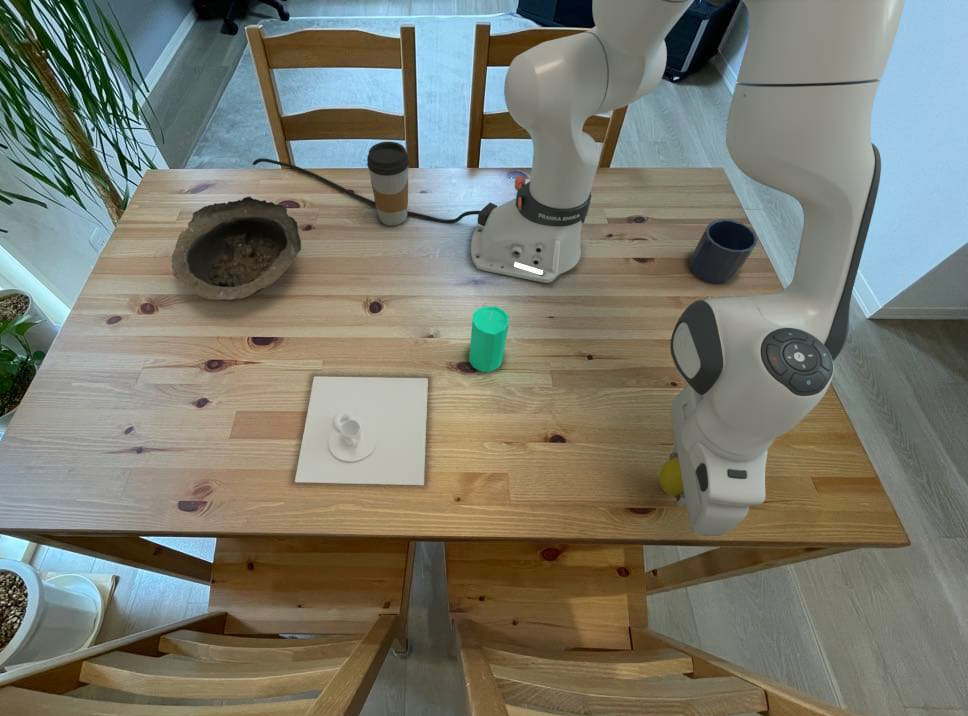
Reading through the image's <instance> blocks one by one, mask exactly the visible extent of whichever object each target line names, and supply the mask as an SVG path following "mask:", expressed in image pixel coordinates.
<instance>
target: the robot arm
mask: <svg viewBox="0 0 968 716" xmlns="http://www.w3.org/2000/svg"><path fill="white" fill-rule="evenodd" d="M694 1H695V0H592V5H591V7H592V8H591V9H592V11H591V12H592V18H593V22H594V25H595V26H593V27H592V28H590V29H588V30H586V31H583V32H580V33H576V34H572V35H567V36H563V37H559V38H554V39H550V40H547V41H543V42H540V43H539V44H537V45H535V46H533V47H531V48H529V49H527V50H526V51H524V52H522V53H520V54H518V55H517V56H515V57H514V58H513V59H512V61H511V63H510V65H509V66H508V69H507V71H506V74H505V79H504V86H503V96H504V102H505V106H506V109H507V111H508V112H509V115H510V117H511V118H512V119H513V121H514V122H515V123H516V124H518V126H520V128H521V127H522V128H523V129H524V130H526V131H527V133H528V135H529V137H530V138H531V140H532V146H533V148H532V149H533V154H532V163H531V171H530V179H529V181H528V182H527V183H526V178H525V177H524V176H522V175H520V176H517V177H516V178H514V179H515V180H514V189H515V190H516V195H515V198H513V199H511V200H509V201H507V202H505V203H503V204H501V205H497V204H494V203H492V202H488V204H486V205H485V206H484V207H483V208H482V209H481V210H469V211H465V212H462V213H461V214H460V215H459V216H457V217H455V218H453V219H452V218H451V219H443V218H437V217H433V216H430V215H427V214H423V213H419V212H414V211H409V210H407V216H412V217H416V218H420V219H425V220H429V221H432V222H436V223H442V224H456V223H458V222H460V221H461V220H462V219H463V218H464V217H467V216H471V215H477V224H478V225H477V227H476V228H475V229H474V232H473V234H472V238H471V243H470V256H471V260H472V262H473V265H474V266H475V268H477V269H478V270H480V271H483V272H488V273H489V272H490V273H493V274H499V275H504V276H509V277H512V278H513V277H514V278H518V279H524V280H529V281H533V282H539V283H542V284H543V283H544V284H550V283H552V282H553V281H554V280H556V278H557V277H558V276H560V275H562V274H564V273H566V272H568V271H570V270H572V269H573V268H574V267H576V265H577V264H578V263H579V261H580V259H581V256H582V249H581V237H582V232H583V231H582V230H583V224H584V223H585V220H586V218H587V216H588V213H589V210H590V207H591V202H592V188H593V184H594V181H595V177H596V174H597V170H598V167H599V164H600V161H601V160H600V157H601V155H600V154H601V153H600V150H599V147H598V144H597V143H596V141H595V139H594V138H593V137H592V136H591V135H590V134H588V133H587V132H585V131H583V127H584V125H585V123H586V122H587V120H588V118H590V117H593V116H596V115H600V114H605V113H609V112H613V111H615V110H619V109H622V108H625V107H627V106H629V105H632V104H633V103H635V102H637V101H639V100H641V99H642V98H644V97H646V96H648V95H649V94H651V93H652V92H653V91H655V89H656V88H658V85H659V84H660V82H661V81H662V79H663V75H664V73H665V70H666V66H667V58H668V57H667V56H668V54H667V53H668V52H667V46H666V40H665V39H666V37H667V36H668V34H670V32H671V30H672V29H673V28H674V27H675V26H676V24H677V23H678V21H679V20H680V19H681V18H682V17H683V15H684V14H685V12H687V10H688V9H689V7H690V6H691V5H692V4H693V3H694ZM705 1H706V2H707V3H710V4H712V5H713V6H721V5H723V4H725V3H726V2H727V1H728V0H705ZM741 2H742V3H743V4H744V5H745V7H746V9H747V12H748V16H749V29H748V34H747V35H748V36H747V41H746V45H745V49H744V52H743V56H742V60H741V63H740V67H739V71H738V74H737V78H736V83H735V86H734V90H733V94H732V98H731V100H730V101H731V102H730V106H729V110H728V115H727V120H726V130H725V145H726V148H727V152H728V154H729V156H730V158H731V160H732V161H733V163H734V165H735V166H736V167H737V168H738V169H739V170H740V171H741V172H742V173H743V174H744V175H745V176H746V177H748V178H749V179H751V180H752V181H754V182H756V183H759V184H760V185H762V186H766V187H768V188H769V189H773V190H775V191H778V192H780V193H783V194H786V195H788V196H790V197H792V198H793V199H795V200H796V201H797V202H798V204H799V205H800V207H801V209H802V213H803V226H802V230H801V231H802V232H801V236H800V242H799V248H798V252H797V257H796V262H795V267H794V272H793V273H794V274H793V278H792V281H791V282H790V283H789V284H788V286H786V288H784V289H782V290H780V291H778V292H776V293H769V294H756V295H746V296H745V295H744V296H740V295H738V296H737V295H736V296H735V295H734V296H724V297H723V296H722V297H713V298H705V299H698V300H694V301H693V302H692V303H691V304H689V305H688V306H687V308H685V309H684V311H683V312H682V313H681V315H680V316H679V318H678V320H677V322H676V324H675V325H674V329H673V331H672V334H671V338H670V344H669V345H670V347H669V348H670V354H671V355H670V356H671V358H672V361H673V363H674V365H675V368H676V369H677V371H678V372H679V374H680V375H681V376H682V377H683V379H684V380H685V381H686V383H688V385H687V386H686V387H684V388H683V389H682V390H680V392H679V393H678V394H677V395H676V396H675V397H674V398H673V400H672V401H671V404H670V409H669V411H670V417H671V422H672V429H673V434H674V439H673V444H672V449H671V450H670V451H669V452H668V456H669V457H668V458H669V460H671V459H673V458H675V457H678V459H679V464H680V470H681V476H682V482H683V488H684V492H679V493H678V495H676V497H675V499H676V506H677V507H679V508H680V507H681V508H686V510H687V511H686V512H687V518H688V523H689V529H690V531H692V532H693V533H694V534H696V535H699V536H706V537H707V536H708V537H721V536H724V535H726V534H727V533H729V532H730V531H732V530H733V529H735V528H736V527H737V526H738V525H739V524H740V523H741V522H742V521H743V520H744V519H745V518H746V517H747V516H748V513H749V510H750V507H758V506H761V505H763V503H764V502H765V500H766V495H767V494H766V465H767V459H768V449H769V448H770V447H771V446H772V445H773V443H774V442H775V440H776V438H779V437H782V436H783V435H785V434H787V433H788V432H790V431H791V430H793V428H795V427H796V426H797V425H798V424H799V423H800V422H801V421H803V420H804V418H806V417H807V416H808V415H809V414H810V413H811V412H812V411H813V409H814V408H815V407H817V405H818V404H819V403H820V402H821V400H822V399H823V398H824V396H825V394H826V393H827V391H828V389H829V387H830V385H831V382H832V380H833V377H834V371H835V367H834V361H835V360H836V359H837V358H838V357H839V355H840V354H841V353H842V352H843V349H844V347H845V345H846V343H847V339H848V336H849V330H850V329H849V328H850V306H851V298H852V294H853V290H854V286H855V284H856V283H855V282H856V278H857V274H858V271H859V268H860V263H861V259H862V256H863V252H864V248H865V244H866V241H867V238H868V237H867V236H868V233H869V229H870V226H871V221H872V218H873V214H874V210H875V205H876V201H877V197H878V192H879V187H880V181H881V173H882V159H881V153H880V151H879V148H878V147H877V146H876V145H875V143H873V142H872V137H871V122H872V120H871V119H872V112H873V108H874V103H875V99H876V96H877V95H876V94H877V92H878V88H879V86H880V83H881V80H880V79H882V77H883V76H884V72H885V70H886V66H887V64H888V61H889V58H890V55H891V53H892V49H893V46H894V43H895V40H896V36H897V32H898V30H899V26H900V22H901V18H902V14H903V11H904V8H905V7H904V6H905V3H906V0H741ZM259 163H269V164H273V165H278V166H283V167H287V168H291V169H293V170H297V171H299V172H300V173H304V174H306V175H309V176H311V177H314V178H315V179H318V180H319V181H322V182H324V183H326V184H328V185H330V186H331V187H334V188H336V189H338V190H340V191H341V192H343V193H346V194H348V195H350V196H352V197H354V198H356V199H358V200H360V201H363V202H365V203H368V204H370V205H372V206H375V207H376V204H375V200H372V199H369V198H367V197H364V196H362V195H359V194H357V193H355V192H353V191H352V190H349V189H347V188H345V187H343V186H341V185H339V184H337V183H335V182H333V181H331V180H329V179H327V178H324V177H322V176H321V175H318V174H317V173H315V172H312V171H310V170H307V169H304V168H302V167H300V166H297V165H294V164H292V163H288V162H283V161H279V160H274V159H271V158H263V157H262V158H257V159H254V161H253V162H252V166H256V165H257V164H259Z"/></svg>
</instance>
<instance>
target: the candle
mask: <svg viewBox="0 0 968 716" xmlns="http://www.w3.org/2000/svg"><path fill="white" fill-rule="evenodd" d="M471 320H472V321H471V330H470V332H471V333H470V343H469V357H468V359H469V360H468V362H469V363H470V365H471V366H472V368H474V369H475V370H477V371H479V372H485V373H490V372H493V371H495V370H498V369H499V368H500V366H501V365H502V364H503V359H504V353H505V346H506V342H507V336H508V330H509V325H510V323H509V321H510V316H509V314H508V313H507V312H506V311H505V310H504V309H503V308H501V307H498V306H495V305H493V306H491V305H488V306H487V305H486V306H483V307H479V308H477V309H476V310H475V311H474V312H473V313H472V319H471Z"/></svg>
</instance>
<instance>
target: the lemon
mask: <svg viewBox="0 0 968 716" xmlns="http://www.w3.org/2000/svg"><path fill="white" fill-rule="evenodd" d="M658 481H659V485H660V487H661V489H662V490H663V492H665V493H666V494H668V495H669V496H671V497H674V498H676V495H678V493H679V492H684V488H683V482H682V476H681V470H680V464H679V459H678V457H675V458H673V459H671V460H670V459H669V460H667V461H666V462H665V463H664V464H663V465H662V467H661V469H660V471H659V475H658Z"/></svg>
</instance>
